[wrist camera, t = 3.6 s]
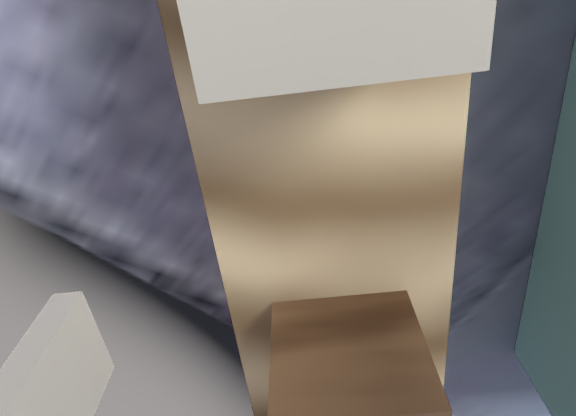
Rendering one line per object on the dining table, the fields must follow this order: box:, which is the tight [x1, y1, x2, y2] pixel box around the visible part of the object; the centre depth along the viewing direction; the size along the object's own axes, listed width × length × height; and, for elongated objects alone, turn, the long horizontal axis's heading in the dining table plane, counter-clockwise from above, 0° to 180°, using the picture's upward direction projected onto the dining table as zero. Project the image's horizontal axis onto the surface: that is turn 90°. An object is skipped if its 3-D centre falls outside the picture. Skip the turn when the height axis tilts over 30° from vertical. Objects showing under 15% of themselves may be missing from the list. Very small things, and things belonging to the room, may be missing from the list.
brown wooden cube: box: [268, 290, 452, 416], centre depth 18 cm, size 6×6×6 cm
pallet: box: [157, 0, 471, 416], centre depth 19 cm, size 30×10×8 cm, turn 6°
